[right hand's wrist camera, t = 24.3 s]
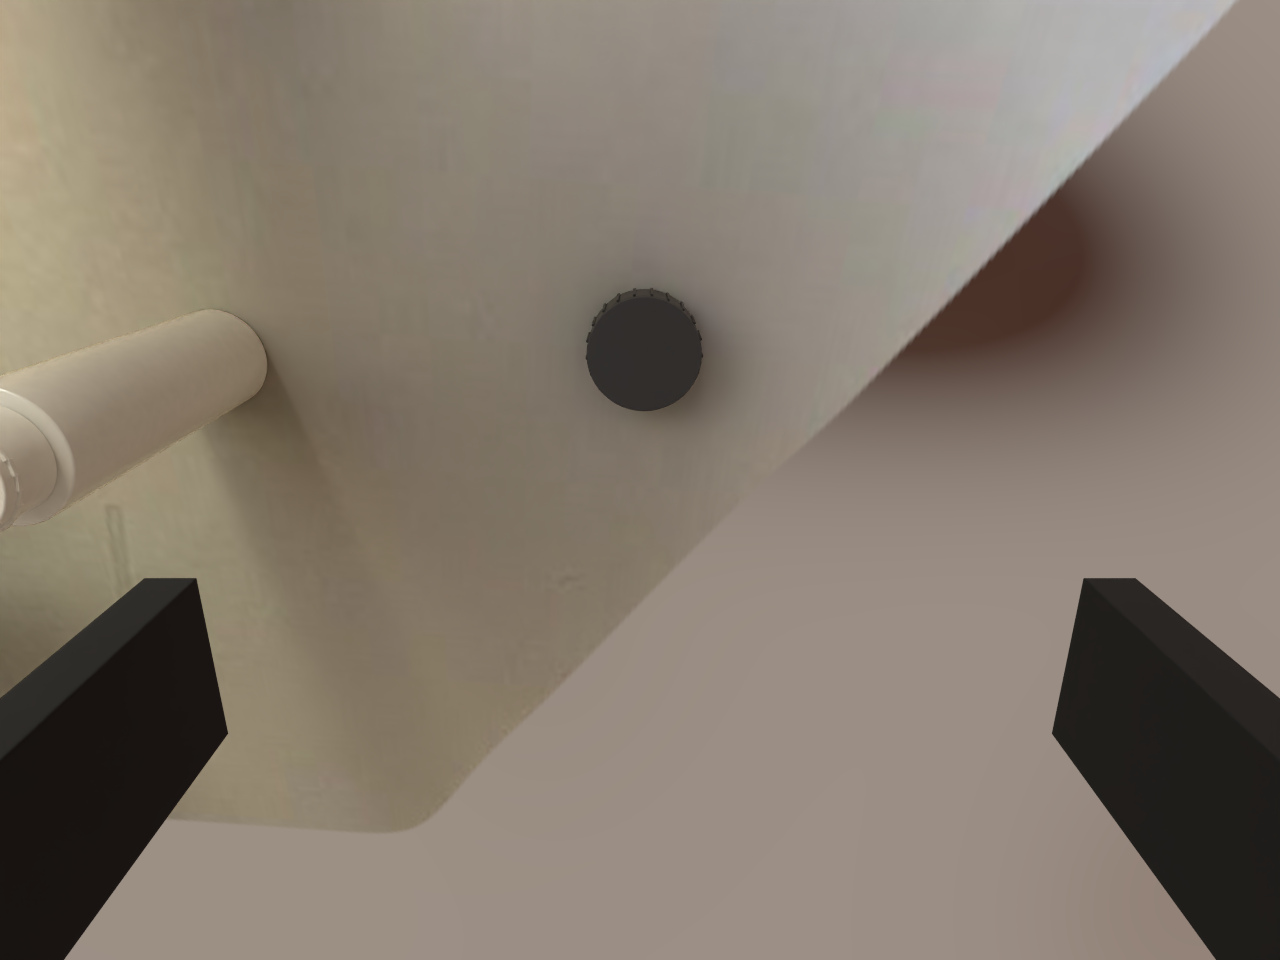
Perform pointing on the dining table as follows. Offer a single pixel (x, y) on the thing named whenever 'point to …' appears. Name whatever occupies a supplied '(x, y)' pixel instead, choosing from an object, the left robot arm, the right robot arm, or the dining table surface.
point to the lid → (644, 350)
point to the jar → (117, 407)
